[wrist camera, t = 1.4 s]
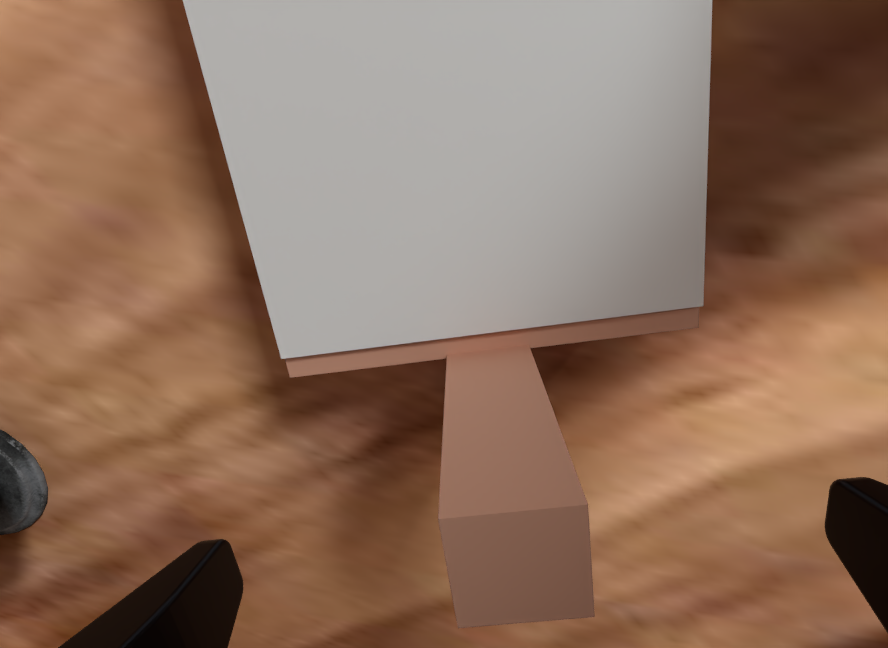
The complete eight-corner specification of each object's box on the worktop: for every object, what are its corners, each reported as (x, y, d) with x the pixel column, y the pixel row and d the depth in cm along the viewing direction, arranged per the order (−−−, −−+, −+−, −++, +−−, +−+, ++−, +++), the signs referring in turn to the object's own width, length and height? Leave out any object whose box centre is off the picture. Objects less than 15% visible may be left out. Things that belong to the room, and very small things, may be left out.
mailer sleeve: (625, -349, 11) (732, -668, 7) (635, 263, 15) (703, 305, 11) (197, -254, 12) (48, -487, 7) (327, 304, 16) (281, 358, 12)
